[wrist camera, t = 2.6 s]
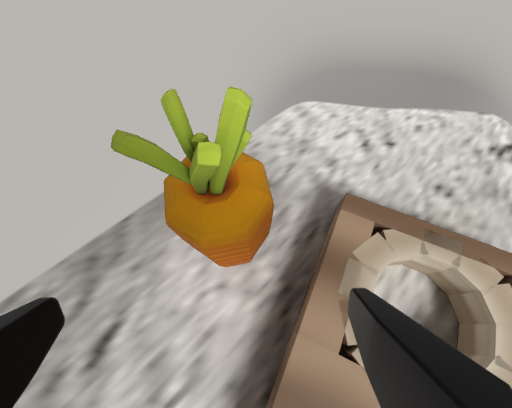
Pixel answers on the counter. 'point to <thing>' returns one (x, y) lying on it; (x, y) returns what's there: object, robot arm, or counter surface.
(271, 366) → the counter surface
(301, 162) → the counter surface
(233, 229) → the carrot
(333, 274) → the hole board
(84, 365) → the counter surface
